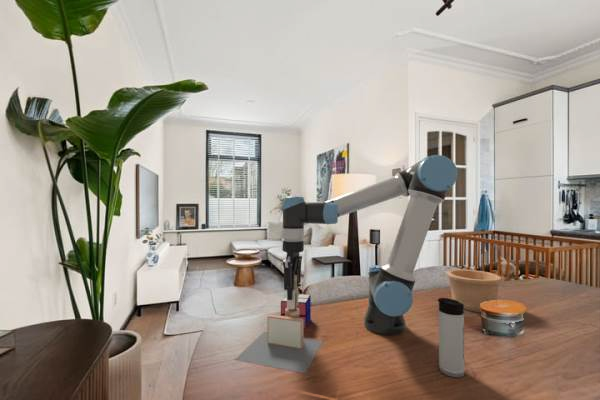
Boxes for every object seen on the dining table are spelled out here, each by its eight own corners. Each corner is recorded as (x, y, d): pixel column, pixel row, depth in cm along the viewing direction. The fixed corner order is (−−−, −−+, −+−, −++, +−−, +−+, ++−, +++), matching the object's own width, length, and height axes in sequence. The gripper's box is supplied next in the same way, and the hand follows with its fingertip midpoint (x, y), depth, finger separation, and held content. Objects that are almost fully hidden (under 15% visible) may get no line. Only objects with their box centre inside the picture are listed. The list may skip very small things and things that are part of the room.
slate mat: (323, 342, 98) (323, 340, 98) (305, 375, 79) (305, 373, 79) (264, 332, 105) (264, 331, 105) (234, 361, 86) (234, 359, 86)
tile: (303, 346, 94) (303, 318, 94) (301, 349, 92) (301, 321, 92) (269, 341, 97) (269, 314, 98) (267, 343, 96) (267, 316, 96)
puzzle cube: (306, 329, 108) (306, 302, 108) (280, 327, 110) (280, 301, 110) (310, 319, 118) (310, 294, 118) (286, 317, 120) (286, 293, 120)
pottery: (501, 303, 136) (500, 272, 136) (503, 319, 118) (503, 283, 118) (449, 295, 148) (449, 267, 148) (444, 308, 129) (444, 276, 129)
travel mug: (433, 365, 84) (433, 296, 84) (455, 364, 84) (454, 295, 84) (446, 378, 77) (445, 303, 78) (469, 377, 78) (469, 302, 78)
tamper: (301, 313, 103) (301, 274, 104) (296, 318, 99) (296, 277, 99) (288, 311, 105) (288, 273, 105) (283, 316, 100) (283, 276, 101)
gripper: (291, 237, 111) (290, 298, 111) (274, 242, 96) (273, 313, 96) (309, 238, 109) (309, 300, 108) (295, 243, 94) (294, 316, 93)
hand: (292, 306), depth 102 cm, fingers closed on tamper, 3 cm apart
